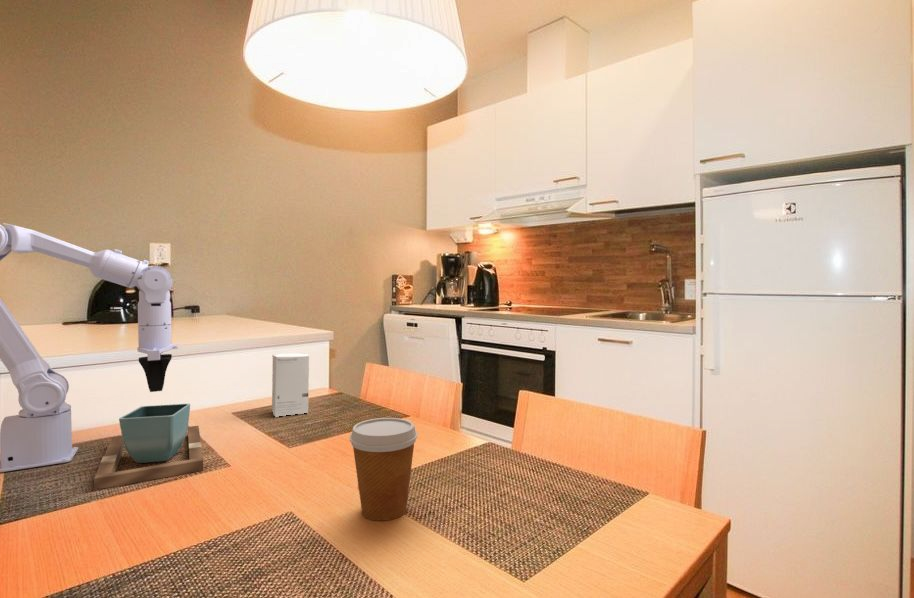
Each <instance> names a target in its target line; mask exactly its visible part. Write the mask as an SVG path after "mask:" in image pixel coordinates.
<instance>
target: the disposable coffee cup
mask: <svg viewBox="0 0 914 598" xmlns="http://www.w3.org/2000/svg"><path fill="white" fill-rule="evenodd" d="M418 434H419V433H418V431H417V430H416V428H415V424H414V422H412V421H410V420H407V419H404V418H398V417H377V418H371V419H367V420H362V421H360V422H357V423H356V424H355V425H353V427H352V430H351V434H350V435H349V438H348V439H349V442H350V443H351V445H352V448H353V456H354V463H355V472H356V477H357V487H358V493H359V500H360V507H361V514H362V516H363V517H364V518H367V519H369V520H372V521H381V522H384V521H390V520H395V519H397V518H399V517H401V516H402V515H404V514H405V513H406V512H407V507H408V506H407V505H408V498H409V491H410V482H411V475H412V467H413V466H412V465H413V464H412V463H413V457H414V447H415V446H414V445H415V443H416V441H417V439H418Z"/></svg>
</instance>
